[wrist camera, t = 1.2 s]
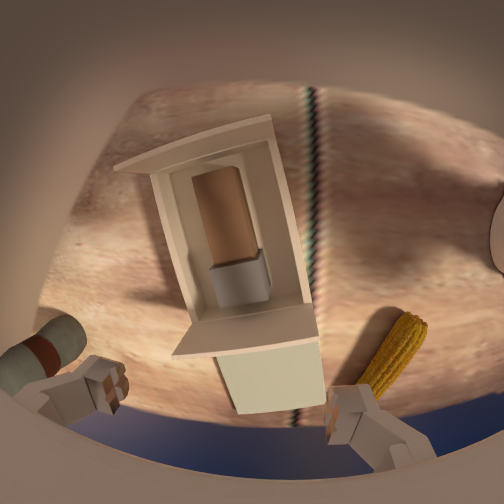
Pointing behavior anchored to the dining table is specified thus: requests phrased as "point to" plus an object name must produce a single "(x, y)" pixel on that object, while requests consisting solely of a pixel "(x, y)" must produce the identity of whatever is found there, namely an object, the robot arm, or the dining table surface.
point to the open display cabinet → (197, 249)
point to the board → (275, 379)
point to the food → (394, 353)
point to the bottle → (42, 354)
